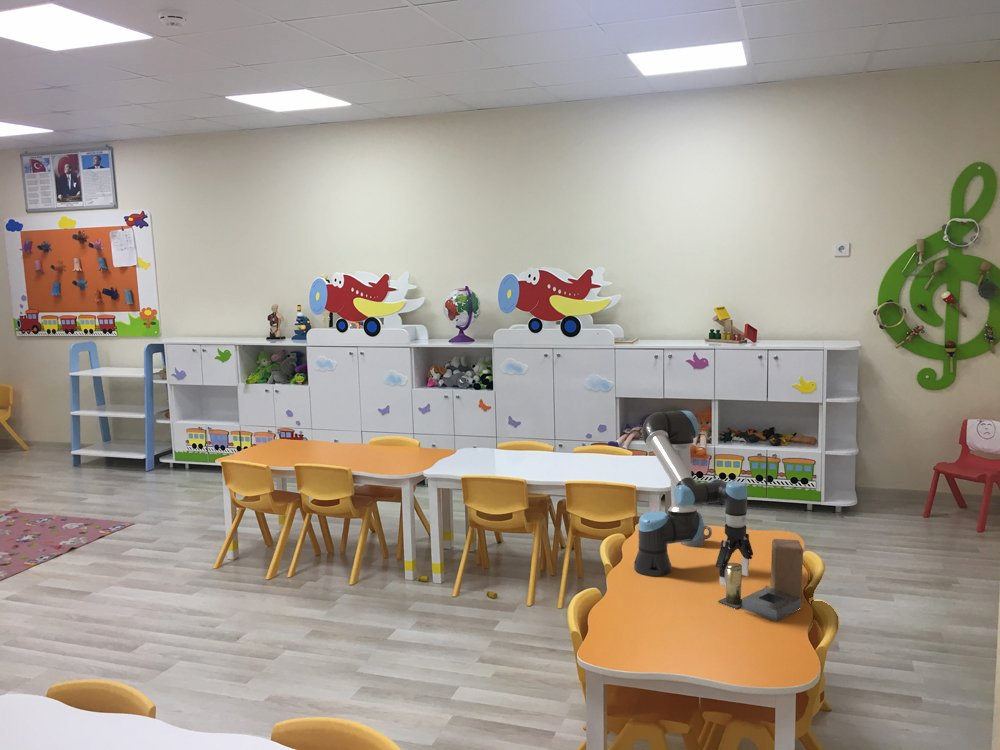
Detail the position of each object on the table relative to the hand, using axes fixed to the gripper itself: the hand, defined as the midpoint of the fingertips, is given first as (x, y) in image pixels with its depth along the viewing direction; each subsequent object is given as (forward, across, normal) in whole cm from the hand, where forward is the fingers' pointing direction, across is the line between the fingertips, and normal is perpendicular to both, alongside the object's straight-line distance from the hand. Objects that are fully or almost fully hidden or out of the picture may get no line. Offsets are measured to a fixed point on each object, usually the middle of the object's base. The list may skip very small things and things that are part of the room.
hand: (734, 580), depth 301 cm
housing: (+9, +6, -12) cm, 16 cm away
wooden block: (+9, +22, -8) cm, 25 cm away
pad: (+9, 0, 0) cm, 9 cm away
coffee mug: (+9, +41, +48) cm, 64 cm away
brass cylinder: (+8, 0, 0) cm, 8 cm away
